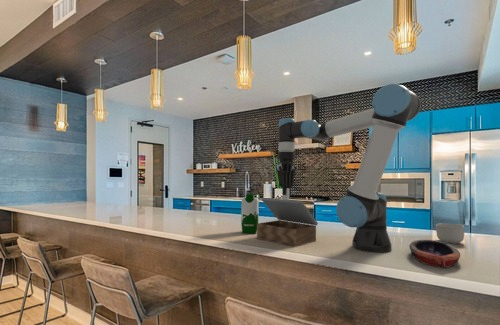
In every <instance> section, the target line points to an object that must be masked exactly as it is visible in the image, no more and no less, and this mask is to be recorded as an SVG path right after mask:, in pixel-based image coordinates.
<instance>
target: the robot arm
mask: <svg viewBox="0 0 500 325" xmlns="http://www.w3.org/2000/svg"><path fill="white" fill-rule="evenodd" d="M371 102H372V108H369V109H367V110H366V109H365V110H363V111H360V112H355V113H352V114H349V115H346V116H343V117H339V118H335V119H332V120H328V121H325V122H322V123H318V122H317V121H316V120H315V119H306V120H300V121H295V119H294V118H290V117H287V118H286V117H285V118H284V117H283V118H280V119H279V121H278V127H277V128H278V129H277V130H278V151H279V152H278V154H277V155H278V160H279V163H278V165H275V169H276V173H277V178H278V180H277V181H278V186H279V187H280V188H281V189H282V192H281V194H282V199H283V200H290V194H291V189H292V188H293V186H294V180H295V174H296V171H297V166H294V163H293V161H295V141H296V139H311V140H317V141H319V142H322V141H324V142H325V141H328V140H329V139H331V138H334V137H338V136H341V135H345V134H350V133H354V132H358V131H361V130H366V129H370V128H372V130H371V133H370V136H369V138H368V141H367V144H366V147H365V150H364V153H363V155H362V158H361V161H360V164H359V167H358V170H357V173H356V176H355V179H354V182H353V183H352V185H350V186H348V187H347V189H346V192H345V195H344V196H343V197H342V198H340V199H339V201H338V202H337V203H336V209H335V210H336V215H337V217H338V219H339V221H340V222H341V223H342V224H343V225H344V226H347V227H348V228H349V227H350V228H356V229H355V231H354V232H355V233H354V235H353V237H352V240H351V241H352V243H351V245H352V246H351V247H352V248H354V249H356V250H359V251H363V252H370V253H388V252H391V251H392V249H393V248H392V243H391V240H390V236H389V233H388V231H387V230H388V228H387V224H388V223H387V222H388V221H387V218H388V216H387V204H388V201H387V196H386V194H385V193H382V192H378V188H379V186H380V183H381V181H382V178H383V175H384V172H385V169H386V168H387V164H388V161H389V158H390V156H391V153H392V150H393V147H394V145H395V142H396V140H397V136H398V135H399V134H398V133H399V132H400V131H401V130H403V129H405V127H406V125H407V123H408V122H409V121H412V120H414V119H415V118H416V117H418V116H417V115H419V113H420V111H421V109H422V103H421V99H420V97H419V96H418V95H417V94H416V93H415V92H413V91H411V89H409V88H408V87H407V86H406V85H405V86H404V85H402V84H399V83H389V84H386V85H384V86H382V87H380V88H379V89H378V90H377V91H376V92H375V94H374V95H373V97H372V100H371Z"/></svg>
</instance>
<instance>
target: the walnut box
mask: <svg viewBox="0 0 500 325" xmlns="http://www.w3.org/2000/svg"><path fill="white" fill-rule="evenodd" d="M256 239H257V240H262V241H267V242H272V243H276V244H281V245H285V246H288V247H289V246H290V247H293V248H294V247H295V248H296V247H299V246H303V245H306V244H311V243H314V242H317V225H311V224H304V223H297V222H290V221H284V220H278V219H277V220H271V221H266V222H265V221H264V222H260V223H259V222H258V224H257V232H256Z"/></svg>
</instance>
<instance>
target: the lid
mask: <svg viewBox="0 0 500 325" xmlns="http://www.w3.org/2000/svg"><path fill="white" fill-rule="evenodd" d="M261 201H262V203H264V205H265V206H266V208H268V210H269V211H270V212H271V213H272V214H273V215H274V216H275V218H276V219H277V220H281V221H288V222H294V223H301V224H308V225H314V226H318V224H319V223H318V221H317V220H316V219H315V217H314V216H313V214H312V213H311V212H310V210H309V209H308V207H307V205H305V204H304V202H303V201H302V200H291V199H289V200H283V198H282V199H280V198H268V197H262V198H261Z"/></svg>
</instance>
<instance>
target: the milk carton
mask: <svg viewBox="0 0 500 325" xmlns="http://www.w3.org/2000/svg"><path fill="white" fill-rule="evenodd" d="M254 195H255V194H254V193H246V194H245V196H244V197H242V198H241V210H240V211H241V212H240V214H241V217H240V218H241V220H240V221H241V224H240V225H241V233H242V234H244V235H245V234H246V235H247V234H248V235H249V234H250V235H251V234H252V235H257V224H258V223H259V205H260V204H259V198H258V197H255V196H254Z"/></svg>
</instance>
